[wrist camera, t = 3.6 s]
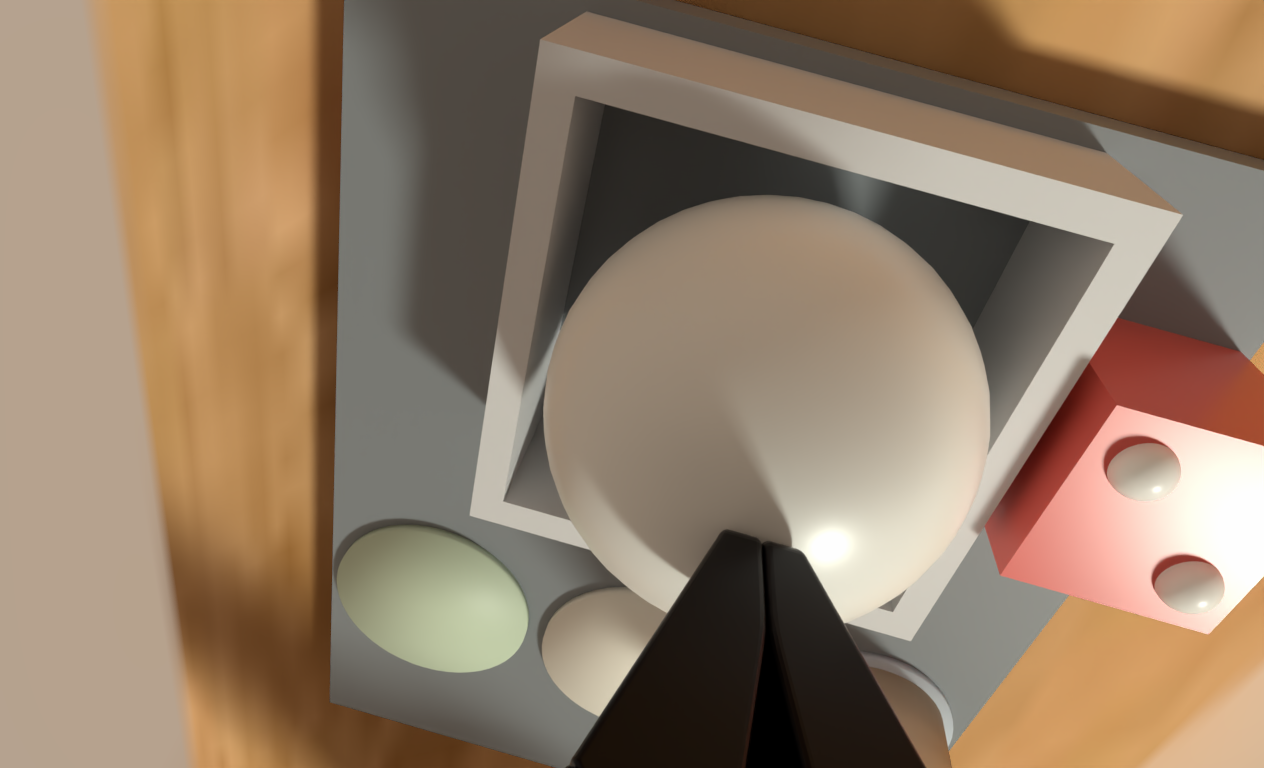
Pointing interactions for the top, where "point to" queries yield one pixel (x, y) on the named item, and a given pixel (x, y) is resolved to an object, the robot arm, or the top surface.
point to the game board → (626, 206)
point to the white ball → (767, 400)
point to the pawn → (917, 717)
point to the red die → (1145, 483)
